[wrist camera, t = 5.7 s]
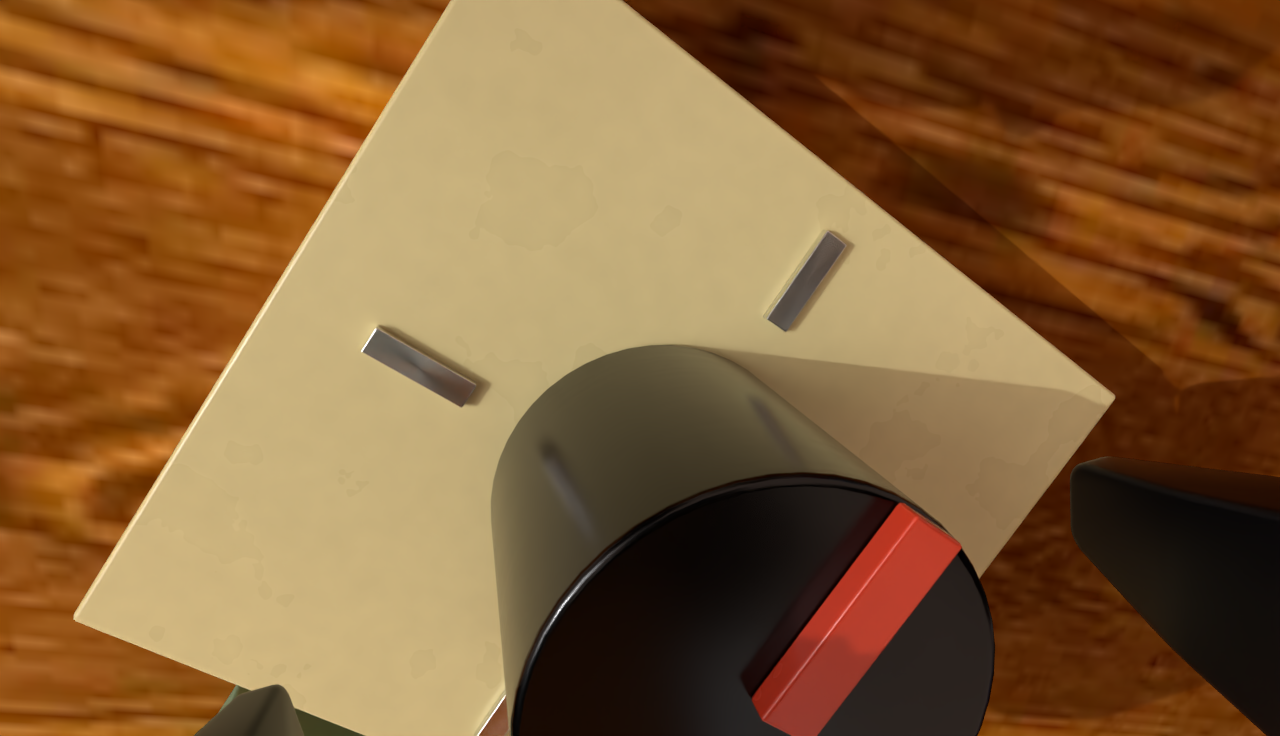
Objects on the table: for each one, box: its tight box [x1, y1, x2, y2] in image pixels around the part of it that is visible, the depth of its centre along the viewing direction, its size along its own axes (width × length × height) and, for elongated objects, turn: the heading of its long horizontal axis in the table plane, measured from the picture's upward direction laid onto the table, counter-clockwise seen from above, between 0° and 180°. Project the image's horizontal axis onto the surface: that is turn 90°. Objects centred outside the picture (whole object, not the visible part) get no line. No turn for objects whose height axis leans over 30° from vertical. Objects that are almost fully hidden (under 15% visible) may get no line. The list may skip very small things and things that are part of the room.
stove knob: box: [491, 345, 995, 736], centre depth 9 cm, size 4×4×5 cm
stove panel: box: [74, 0, 1115, 736], centre depth 13 cm, size 11×10×3 cm
